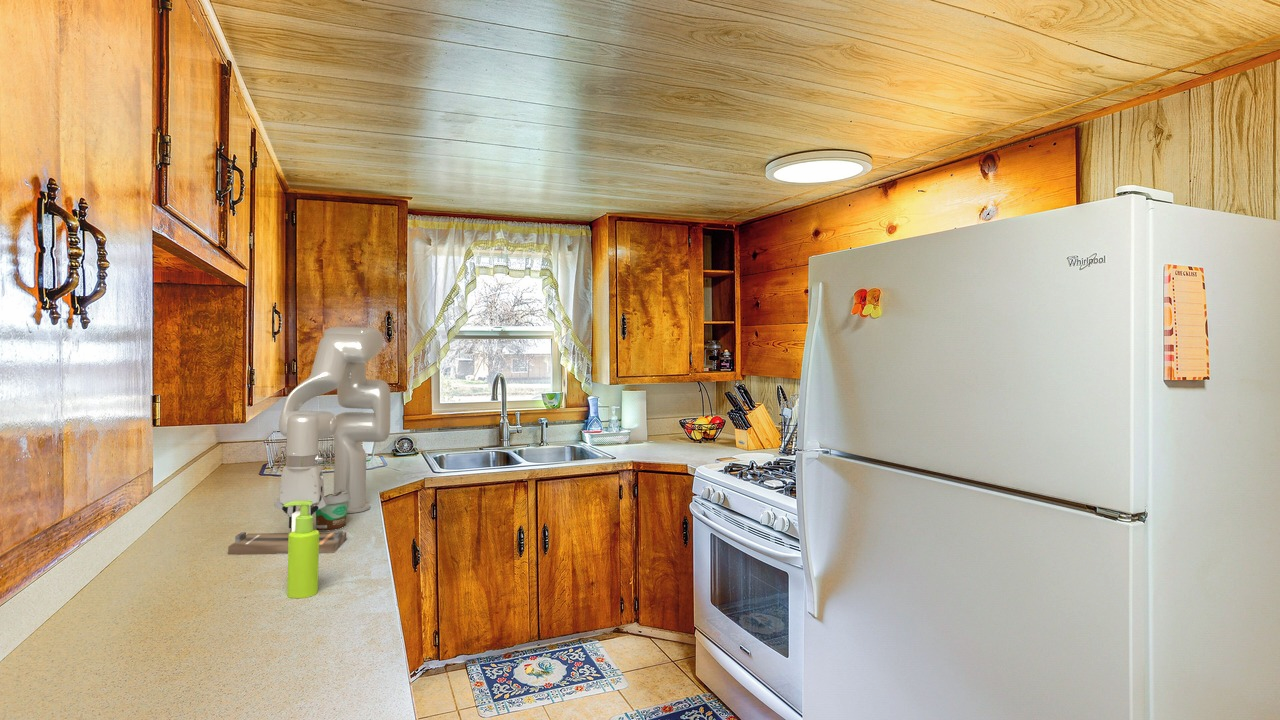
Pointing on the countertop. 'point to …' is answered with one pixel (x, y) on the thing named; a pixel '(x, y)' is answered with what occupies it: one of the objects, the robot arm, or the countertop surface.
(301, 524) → the soap dispenser
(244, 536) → the slider board
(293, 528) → the block
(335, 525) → the food container
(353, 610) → the countertop surface
